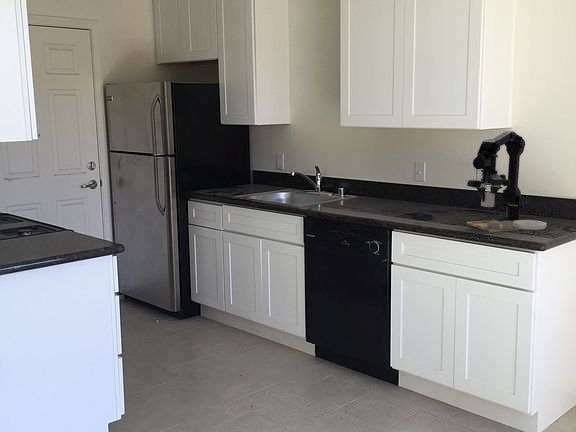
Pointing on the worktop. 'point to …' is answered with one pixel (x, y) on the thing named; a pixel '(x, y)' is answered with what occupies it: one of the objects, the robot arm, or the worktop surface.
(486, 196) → the grey rectangular block
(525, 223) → the bowl
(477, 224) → the tray
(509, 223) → the grey cubic piece
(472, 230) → the worktop surface
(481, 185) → the robot arm
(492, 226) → the grey piece
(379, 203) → the worktop surface
